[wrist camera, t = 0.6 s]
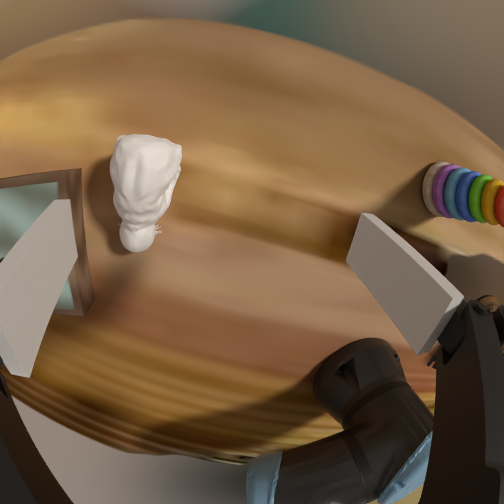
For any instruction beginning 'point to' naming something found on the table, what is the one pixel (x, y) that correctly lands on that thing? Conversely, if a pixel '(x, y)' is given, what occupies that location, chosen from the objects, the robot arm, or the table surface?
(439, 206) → the stacking toy
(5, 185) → the square wooden tray
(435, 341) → the robot arm
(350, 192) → the table surface
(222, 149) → the table surface
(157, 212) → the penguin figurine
